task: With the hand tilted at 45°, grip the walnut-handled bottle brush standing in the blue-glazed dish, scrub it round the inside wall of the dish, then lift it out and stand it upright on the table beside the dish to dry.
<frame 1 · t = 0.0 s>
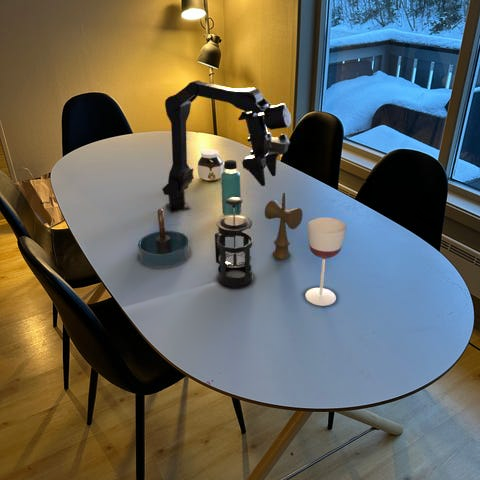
hand: (268, 180, 140), 15 cm above the table, tool pointing down, fingers open, 9 cm apart
beverage bottle: (231, 217, 152), on the table
dish: (164, 254, 130), on the table
spread jar: (214, 178, 185), on the table
brush: (164, 253, 130), point 1 cm above the table, touching dish
wineglass: (320, 297, 111), on the table
kendama: (281, 257, 129), on the table
french press: (233, 278, 119), on the table
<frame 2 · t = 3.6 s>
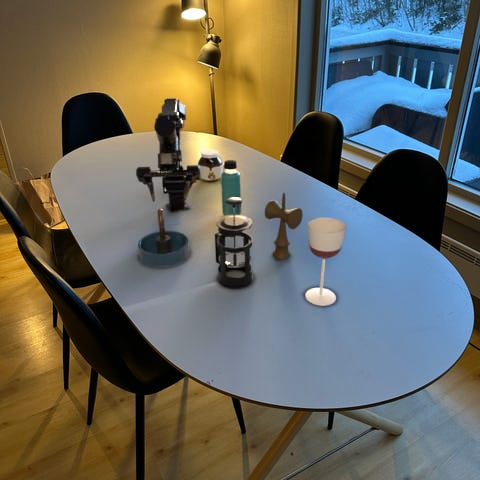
hand: (169, 200, 131), 14 cm above the table, tool tilted 45°, fingers open, 9 cm apart
nothing on the table moved.
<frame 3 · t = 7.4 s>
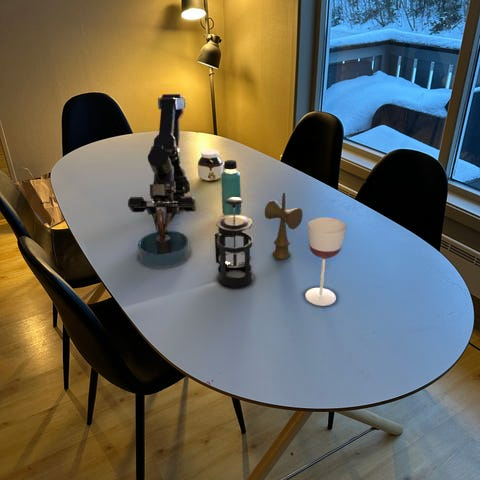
hand: (161, 232, 125), 8 cm above the table, tool tilted 45°, fingers closed on brush, 2 cm apart
brush: (164, 253, 130), point 1 cm above the table, touching dish, gripper
everything else where it was.
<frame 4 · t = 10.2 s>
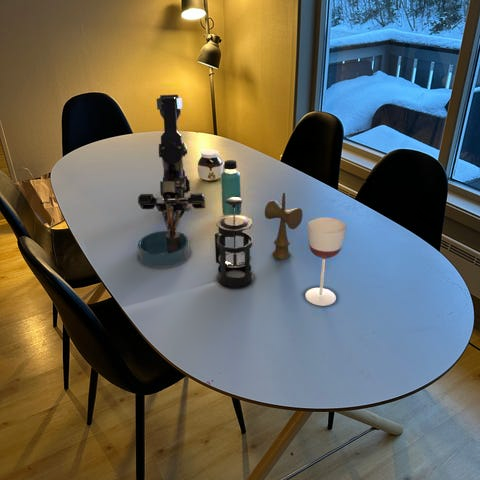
hand: (171, 229, 126), 8 cm above the table, tool tilted 45°, fingers closed on brush, 2 cm apart
brush: (173, 249, 131), point 1 cm above the table, touching gripper
everything else where it was.
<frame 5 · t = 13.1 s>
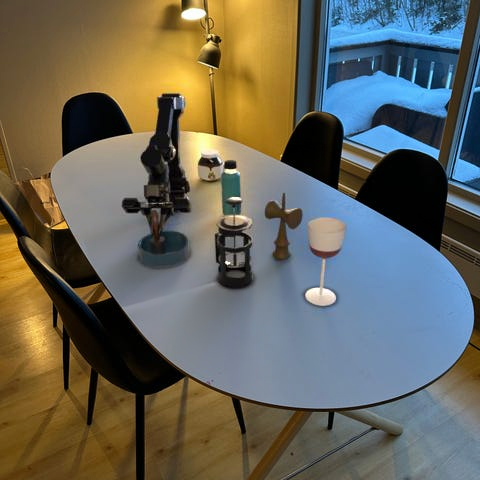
hand: (155, 234, 123), 9 cm above the table, tool tilted 45°, fingers closed on brush, 2 cm apart
brush: (158, 254, 128), point 1 cm above the table, touching gripper
everything else where it was.
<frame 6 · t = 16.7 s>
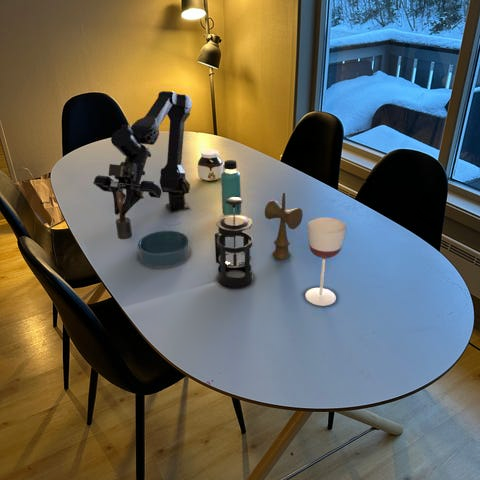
hand: (119, 214, 123), 14 cm above the table, tool tilted 45°, fingers closed on brush
brush: (125, 236, 127), point 6 cm above the table, touching gripper
everything else where it was.
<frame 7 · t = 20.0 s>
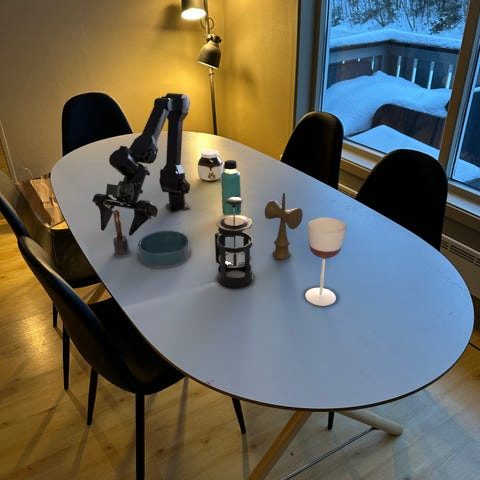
hand: (115, 232, 126), 8 cm above the table, tool tilted 45°, fingers open, 9 cm apart
brush: (122, 253, 131), on the table
everything else where it was.
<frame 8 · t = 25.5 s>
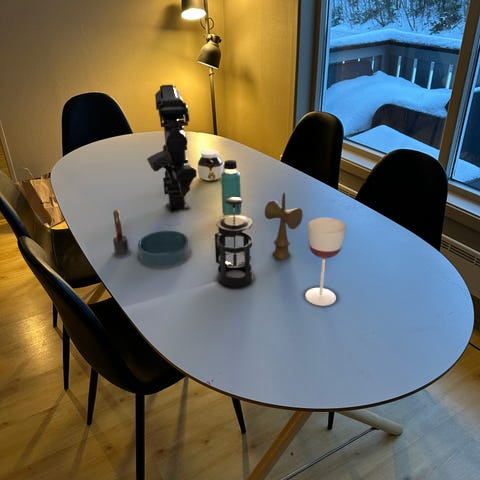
hand: (178, 191, 139), 13 cm above the table, tool pointing down, fingers open, 9 cm apart
nothing on the table moved.
at the end: brush 0.0 cm from the target spot, on the table; brush tilted 0°; the gripper is holding nothing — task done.
